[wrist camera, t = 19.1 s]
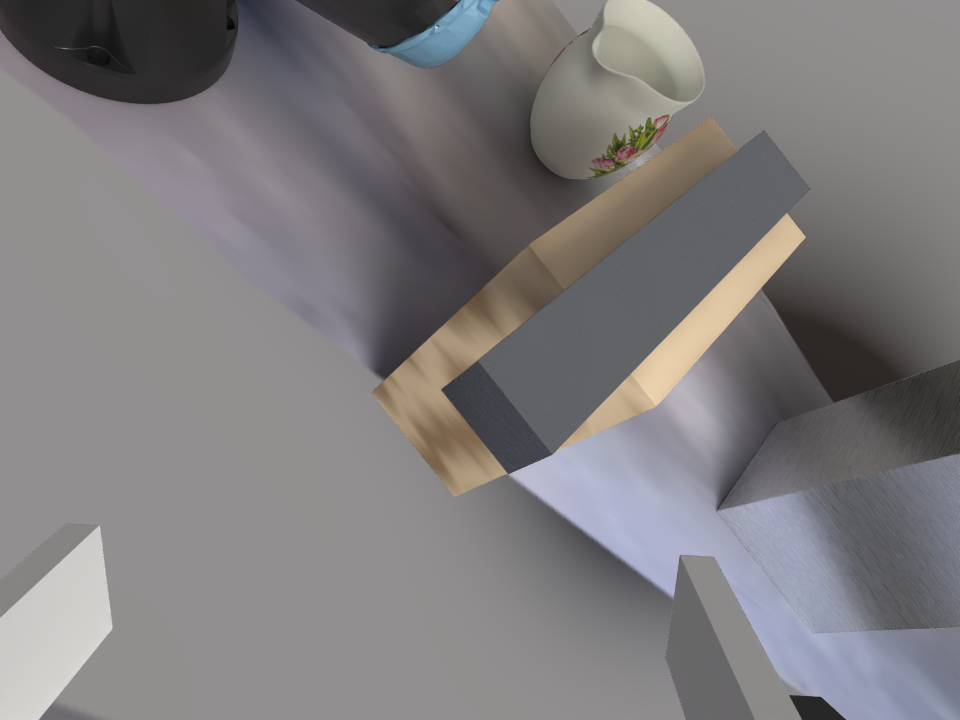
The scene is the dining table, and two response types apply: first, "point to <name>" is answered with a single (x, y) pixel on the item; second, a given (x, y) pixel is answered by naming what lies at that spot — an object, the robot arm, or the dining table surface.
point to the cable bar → (621, 309)
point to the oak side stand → (545, 276)
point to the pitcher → (614, 90)
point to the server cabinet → (861, 508)
